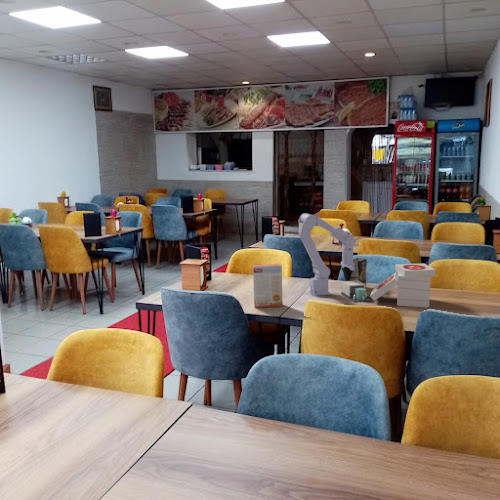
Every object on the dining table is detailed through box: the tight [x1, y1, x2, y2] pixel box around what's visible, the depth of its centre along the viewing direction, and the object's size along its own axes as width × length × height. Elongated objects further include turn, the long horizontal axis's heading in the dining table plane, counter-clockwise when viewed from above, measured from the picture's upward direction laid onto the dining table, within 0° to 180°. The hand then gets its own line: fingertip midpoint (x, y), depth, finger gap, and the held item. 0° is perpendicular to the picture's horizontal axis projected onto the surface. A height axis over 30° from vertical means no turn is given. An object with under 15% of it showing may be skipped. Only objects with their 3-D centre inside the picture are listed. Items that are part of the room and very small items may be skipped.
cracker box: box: [252, 263, 284, 309], centre depth 256 cm, size 14×6×21 cm, turn 92°
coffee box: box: [350, 257, 368, 288], centre depth 286 cm, size 9×6×16 cm
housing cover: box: [342, 281, 366, 297], centre depth 273 cm, size 9×8×6 cm
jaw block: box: [355, 288, 367, 300], centre depth 265 cm, size 4×4×5 cm
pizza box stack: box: [369, 263, 436, 308], centre depth 258 cm, size 19×30×18 cm, turn 71°
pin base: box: [340, 291, 374, 303], centre depth 270 cm, size 10×17×2 cm, turn 12°
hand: (347, 280), depth 281 cm, fingers closed
